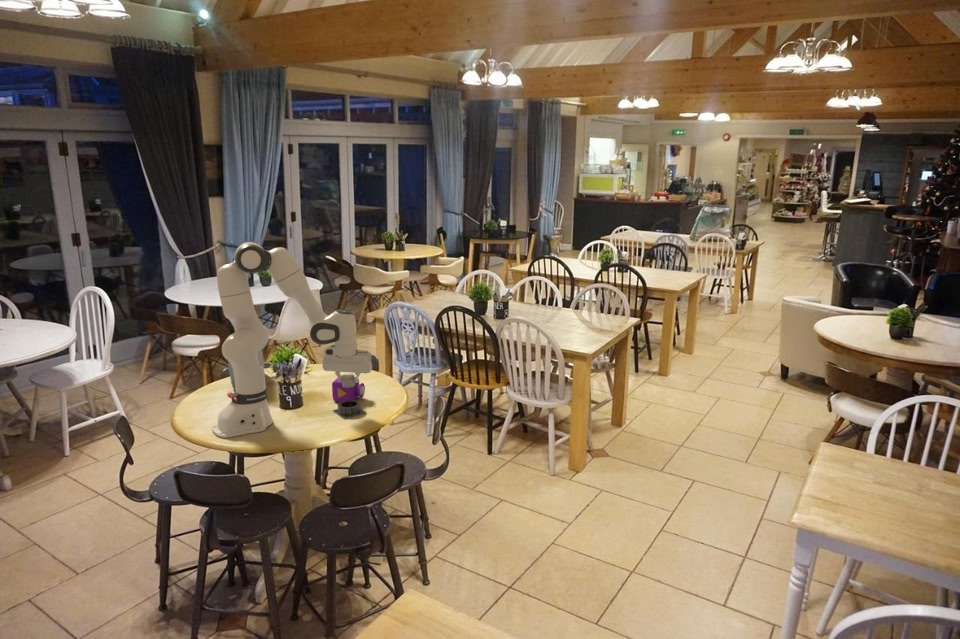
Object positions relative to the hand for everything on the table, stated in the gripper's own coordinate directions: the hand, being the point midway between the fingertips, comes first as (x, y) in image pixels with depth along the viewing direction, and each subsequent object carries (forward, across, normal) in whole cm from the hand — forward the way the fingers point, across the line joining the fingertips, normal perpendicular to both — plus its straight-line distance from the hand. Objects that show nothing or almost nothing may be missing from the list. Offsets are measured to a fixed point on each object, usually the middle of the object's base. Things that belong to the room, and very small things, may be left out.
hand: (348, 381), depth 267 cm
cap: (+2, 0, 0) cm, 2 cm away
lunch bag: (+13, +62, -26) cm, 69 cm away
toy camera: (+14, +6, -14) cm, 20 cm away
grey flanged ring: (+13, 0, 0) cm, 13 cm away
